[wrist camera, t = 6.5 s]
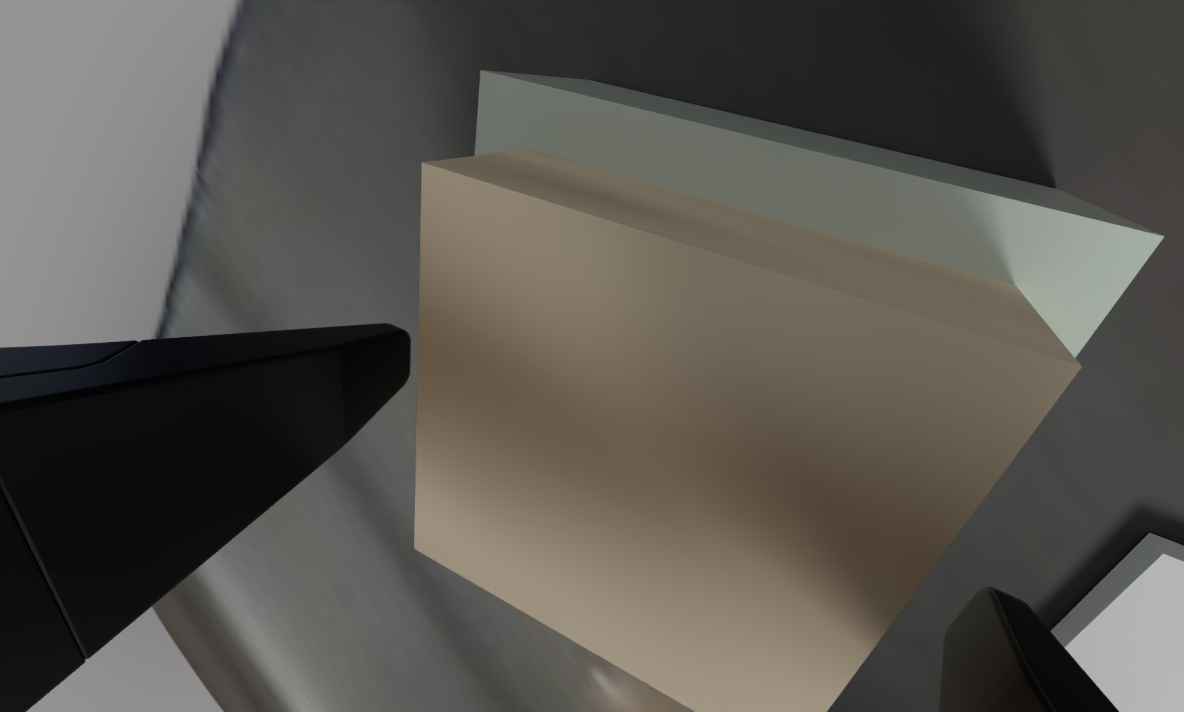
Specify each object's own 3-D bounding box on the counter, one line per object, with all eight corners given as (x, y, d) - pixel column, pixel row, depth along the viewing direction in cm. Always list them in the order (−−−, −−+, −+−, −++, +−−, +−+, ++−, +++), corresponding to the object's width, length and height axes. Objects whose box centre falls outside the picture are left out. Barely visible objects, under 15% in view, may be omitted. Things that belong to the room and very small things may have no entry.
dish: (841, 547, 14) (832, 689, 10) (535, 409, 16) (451, 486, 13) (1058, 189, 9) (1163, 236, 6) (589, 79, 12) (480, 70, 8)
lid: (804, 629, 10) (786, 765, 8) (491, 473, 12) (414, 548, 10) (1015, 284, 7) (1082, 366, 5) (528, 149, 9) (421, 162, 7)
